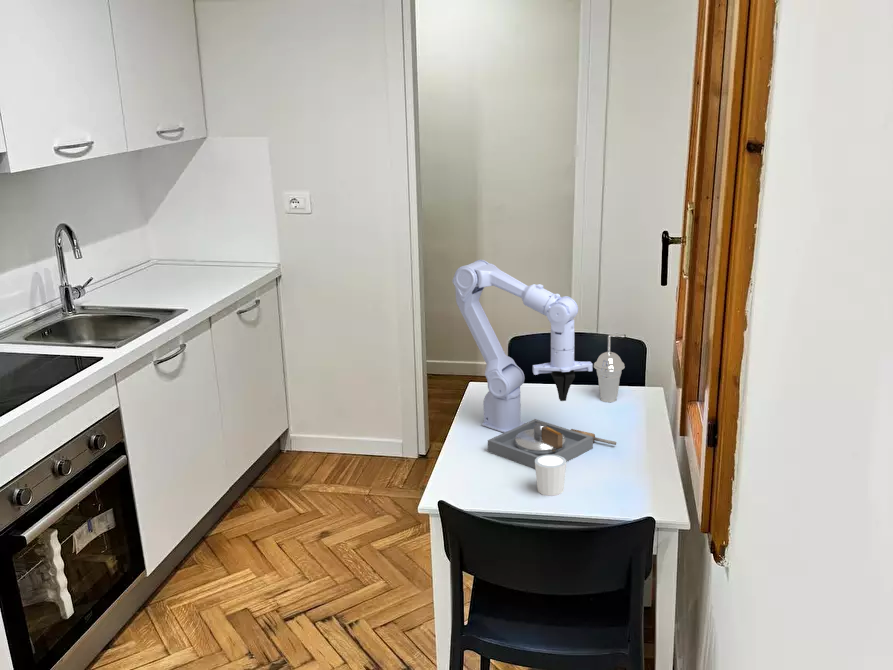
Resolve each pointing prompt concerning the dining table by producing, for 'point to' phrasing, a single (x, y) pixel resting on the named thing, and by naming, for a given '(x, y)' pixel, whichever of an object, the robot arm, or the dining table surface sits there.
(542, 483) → the white fluted cup
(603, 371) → the cup with straw
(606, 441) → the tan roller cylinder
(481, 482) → the dining table surface
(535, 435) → the dial
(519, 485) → the dining table surface
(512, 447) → the tray
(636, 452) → the dining table surface
